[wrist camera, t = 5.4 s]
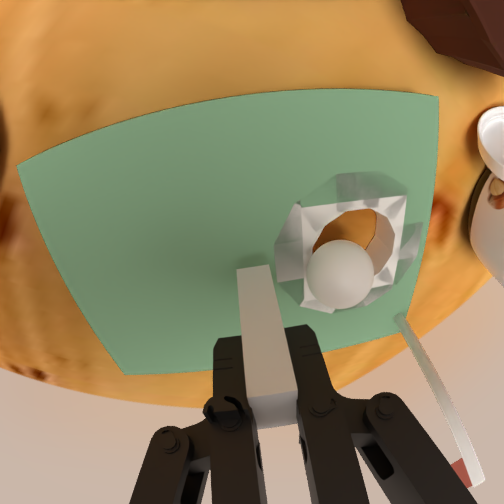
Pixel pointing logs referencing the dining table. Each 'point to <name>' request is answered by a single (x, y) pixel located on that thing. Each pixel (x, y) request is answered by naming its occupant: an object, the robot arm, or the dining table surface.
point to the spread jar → (489, 195)
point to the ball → (340, 274)
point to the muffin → (462, 29)
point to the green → (241, 221)
